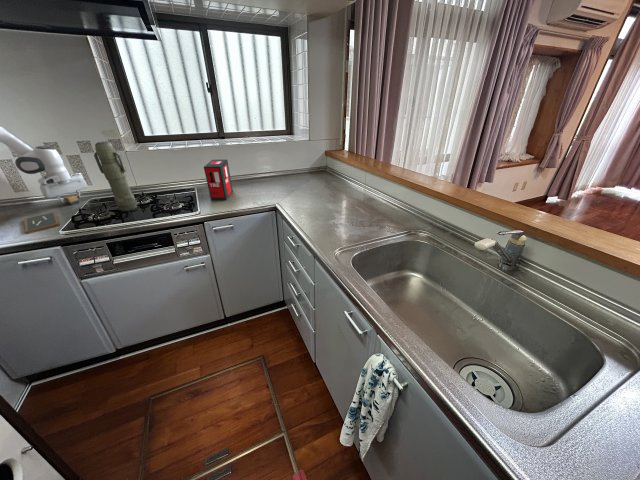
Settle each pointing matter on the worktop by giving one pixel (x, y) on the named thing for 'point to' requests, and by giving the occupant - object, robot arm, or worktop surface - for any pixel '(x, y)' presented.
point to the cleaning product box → (218, 179)
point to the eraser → (71, 199)
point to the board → (41, 222)
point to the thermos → (115, 175)
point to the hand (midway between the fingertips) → (71, 200)
